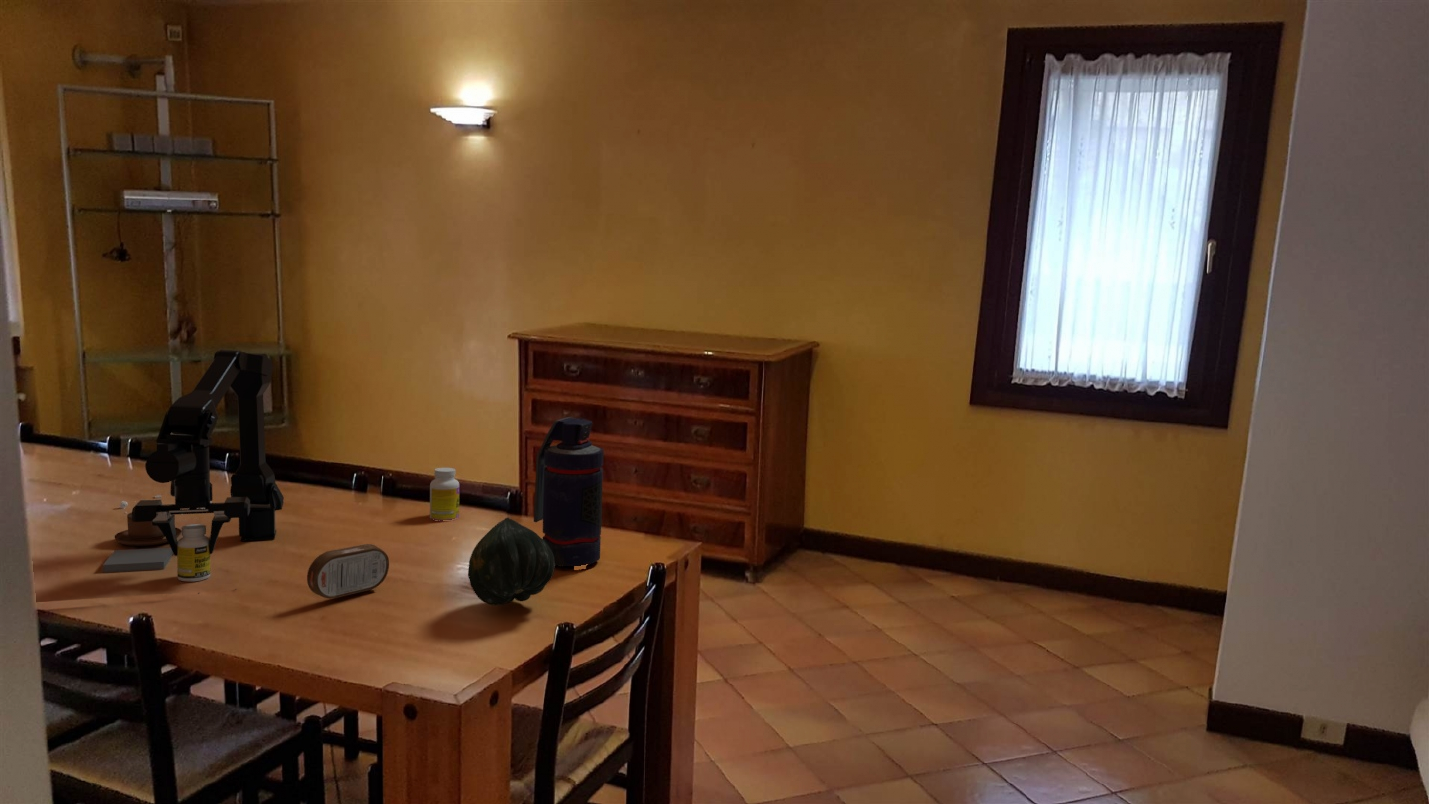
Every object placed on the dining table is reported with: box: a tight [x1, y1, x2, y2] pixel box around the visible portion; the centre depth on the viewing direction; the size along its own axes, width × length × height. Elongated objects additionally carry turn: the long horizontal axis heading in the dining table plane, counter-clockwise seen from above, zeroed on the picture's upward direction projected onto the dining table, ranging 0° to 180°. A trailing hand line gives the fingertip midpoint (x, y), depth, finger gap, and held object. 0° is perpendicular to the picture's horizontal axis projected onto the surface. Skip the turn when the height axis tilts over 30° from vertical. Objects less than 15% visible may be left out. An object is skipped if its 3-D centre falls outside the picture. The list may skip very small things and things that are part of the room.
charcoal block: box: [102, 547, 174, 574], centre depth 187 cm, size 10×10×2 cm
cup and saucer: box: [114, 511, 182, 547], centre depth 201 cm, size 12×12×6 cm
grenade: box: [533, 416, 605, 567], centre depth 198 cm, size 14×12×30 cm
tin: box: [306, 543, 390, 600], centre depth 175 cm, size 15×3×8 cm, turn 141°
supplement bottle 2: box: [429, 467, 460, 521], centre depth 226 cm, size 7×7×13 cm
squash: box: [467, 517, 556, 606], centre depth 172 cm, size 14×15×15 cm
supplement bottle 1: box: [176, 523, 211, 583], centre depth 179 cm, size 5×5×10 cm
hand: (193, 554), depth 179 cm, fingers closed on supplement bottle 1, 5 cm apart
